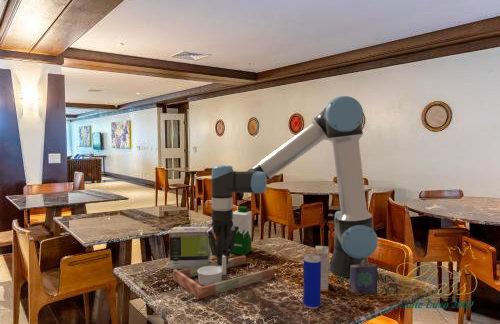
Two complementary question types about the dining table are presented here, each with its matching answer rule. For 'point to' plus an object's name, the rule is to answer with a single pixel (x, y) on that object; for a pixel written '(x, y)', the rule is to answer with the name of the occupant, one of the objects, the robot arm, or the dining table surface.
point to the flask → (363, 278)
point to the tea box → (189, 247)
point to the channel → (218, 287)
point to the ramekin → (209, 275)
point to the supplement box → (323, 265)
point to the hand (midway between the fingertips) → (222, 273)
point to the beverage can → (312, 281)
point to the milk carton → (242, 230)
